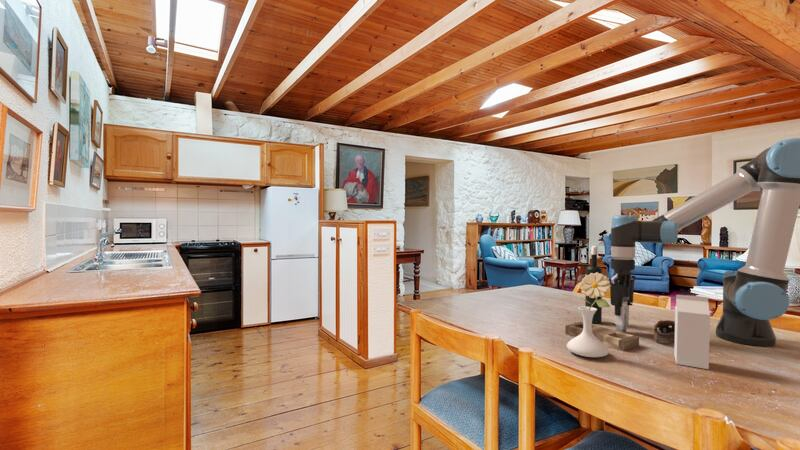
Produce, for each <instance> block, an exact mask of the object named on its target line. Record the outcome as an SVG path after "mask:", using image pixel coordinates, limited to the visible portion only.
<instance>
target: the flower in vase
mask: <svg viewBox="0 0 800 450" xmlns="http://www.w3.org/2000/svg"><path fill="white" fill-rule="evenodd" d="M609 278H610V277H608V276H607V275H604V274H603V273H602V274H599V273H598V272H596V273H594V274H593V273H590V275H586V274H585V276H584V277H582V278H581V281H580V282H579V287H580V290H581V294H583V295H585V296H589V297H590V298H596V300H595V301H594V303H595V302H596V303H597V305H598V306H599V307H602V308H610V307H611V304H610V303H609V302H608V301H607V300H606V299H604V298H603V297H604V296H605V295H606V294H607V292H610V287H611V285H610V281H609ZM598 297H602V299H599V300H597V298H598ZM581 300H583V301H584V302H585V301H586V302H588V301H587V300H585V298H584V297H581ZM588 303H589V302H588ZM594 303H593V304H592V305H591V306H590V307H585V306H578V309H579V311H580V312H581V315H582V320H583V321H582V322H583V324H584V326H583V331H582V333H581V334H580V335H578V336H576V337H573V338H571V339H570V340H569V341H568V342H567V343H566V348H567V350H568V351H570V353H573V354H576V355H578V356H582V357H584V358H585V357H586V358H602V357H605V356H607V355H608V354H609V353H610V350H609V347H608V346H605V345H604V344H603V343H602V342H601V341H600V340H599V339H597V338H596V337H595V336H594V334H593V333H592V325H593V324H592V319H593V315H594V313H595V312H596V311H597V309H596V308H593V307H592V306H593V305H594Z"/></svg>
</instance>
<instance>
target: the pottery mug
mask: <svg viewBox="0 0 800 450" xmlns="http://www.w3.org/2000/svg"><path fill="white" fill-rule="evenodd" d="M653 340H654V342H655V343H658V342H670V341H675V320H668V319H667V320H659V321H657V322H656V324H655V325H654V327H653Z"/></svg>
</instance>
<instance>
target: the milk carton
mask: <svg viewBox="0 0 800 450" xmlns="http://www.w3.org/2000/svg"><path fill="white" fill-rule="evenodd" d="M674 308H675V309H674V321H675V340H674V345H673V346H674V348H673V350H674V351H673V352H674V360H675V363H676V364H677V365H681V366H687V367H692V368H698V369H699V368H700V369H704V370H709V369H710V335H711V334H710V327H711V324H710V323H711V320H710V319H711V313H710V305H709V297H708V296H707V297H704V296H697V295H695V296H694V295H687V294H686V295H684V294H676V299H675V304H674Z"/></svg>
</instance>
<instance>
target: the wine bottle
mask: <svg viewBox="0 0 800 450" xmlns="http://www.w3.org/2000/svg"><path fill="white" fill-rule="evenodd" d="M590 247H591V248H590V251H591V253H590V254H591V258H590V259H591V261H590V263H591V265H587V266H586V268H585V275H590V273H593V274H594V273H596V272H598V273H599V274H603V268H602V267H601V266H599V265H598V245H591V246H590ZM584 297H585V298H584V299H585V300H587V301H588V302H589V303H588V302H586V301H585V300H584V302H585V307H590V306H591V305H592V304H593V303H594V301H595V300H596V298H590V297H589V296H586V295H585V296H584ZM599 299H603V296H602V297H598V298H597V300H599ZM592 307H593V308H596V309H597V311H596V312H595V313H594V315H593V319H592V325H600V324H602V319H603V318H602V315H603V314H602V313H603V311H602V309H603V307H599V306H598V305H597V303H596V302H595V303H594V305H593V306H592Z"/></svg>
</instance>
